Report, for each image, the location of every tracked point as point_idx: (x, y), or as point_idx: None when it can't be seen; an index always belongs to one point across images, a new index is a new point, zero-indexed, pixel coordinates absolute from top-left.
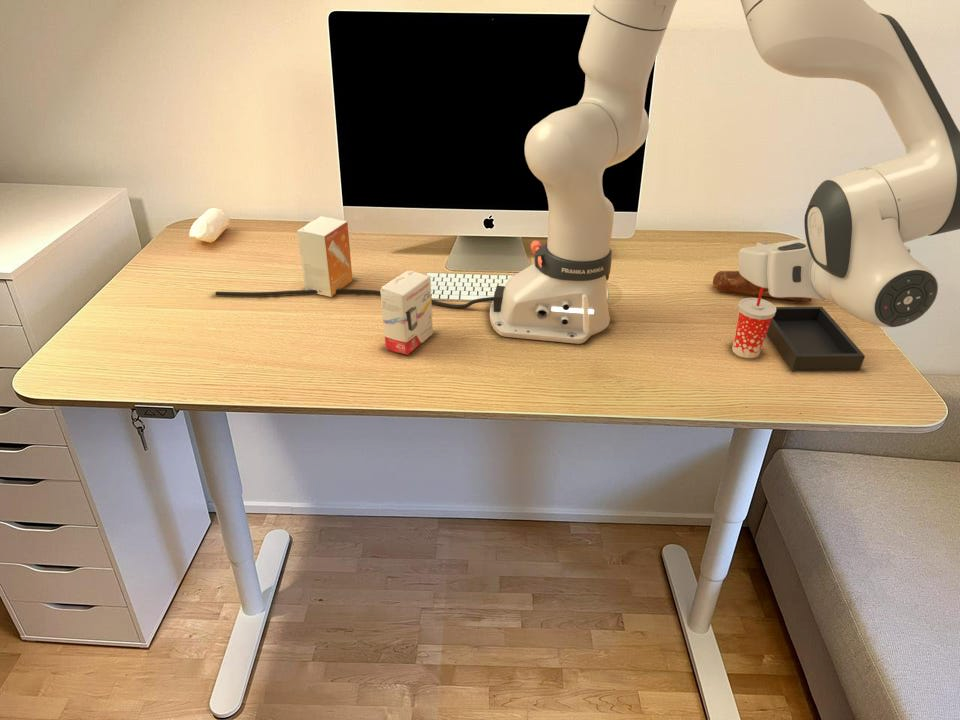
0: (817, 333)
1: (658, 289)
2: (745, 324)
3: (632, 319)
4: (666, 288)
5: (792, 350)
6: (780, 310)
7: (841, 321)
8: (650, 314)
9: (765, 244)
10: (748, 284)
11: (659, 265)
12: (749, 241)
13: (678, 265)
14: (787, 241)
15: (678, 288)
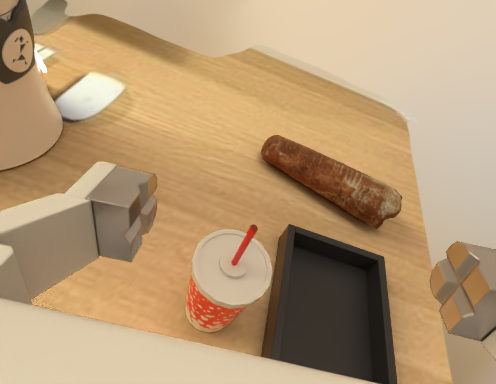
0: (353, 303)
1: (185, 127)
2: (194, 289)
3: (86, 165)
4: (198, 130)
5: None
6: (316, 241)
7: (402, 282)
8: (126, 166)
9: (100, 202)
10: (302, 171)
11: (223, 94)
12: (355, 106)
13: (247, 103)
14: (73, 362)
15: (215, 136)
